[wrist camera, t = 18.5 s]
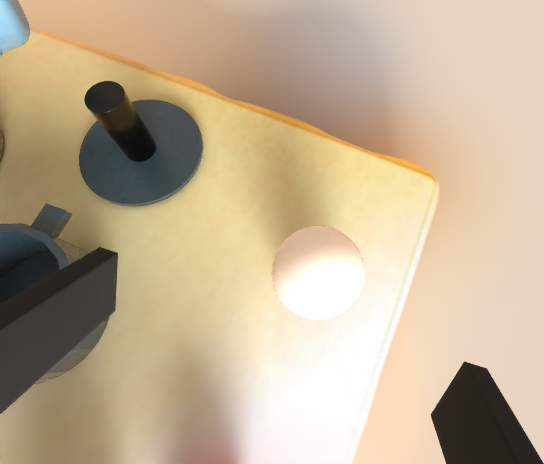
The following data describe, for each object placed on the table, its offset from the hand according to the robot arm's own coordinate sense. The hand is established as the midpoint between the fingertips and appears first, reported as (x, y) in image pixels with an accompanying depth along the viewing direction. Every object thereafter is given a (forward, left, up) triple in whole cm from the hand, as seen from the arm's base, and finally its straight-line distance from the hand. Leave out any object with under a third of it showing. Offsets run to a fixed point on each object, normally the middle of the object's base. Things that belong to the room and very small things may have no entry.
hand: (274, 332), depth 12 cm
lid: (-29, -1, -22) cm, 36 cm away
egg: (-3, +7, -23) cm, 24 cm away
